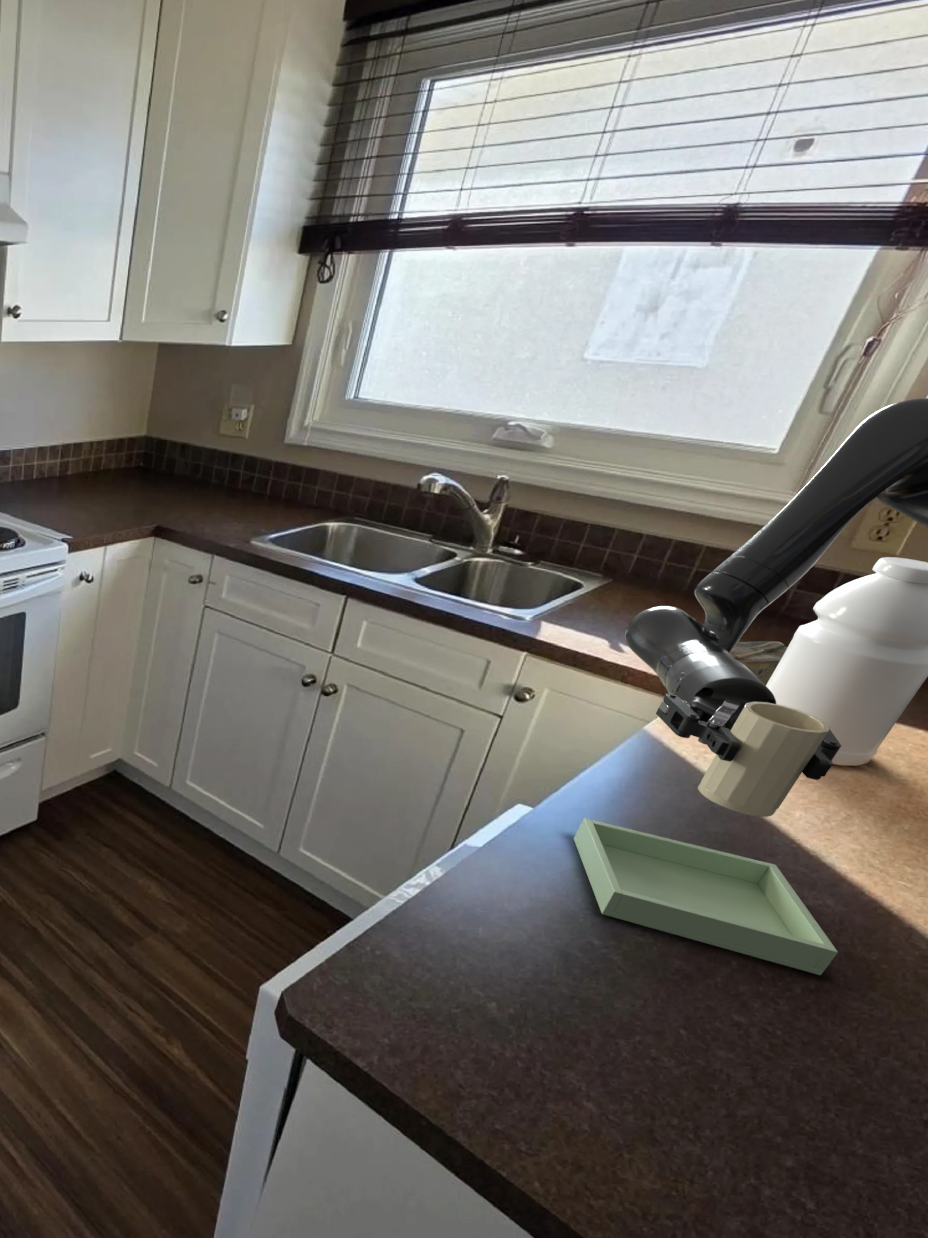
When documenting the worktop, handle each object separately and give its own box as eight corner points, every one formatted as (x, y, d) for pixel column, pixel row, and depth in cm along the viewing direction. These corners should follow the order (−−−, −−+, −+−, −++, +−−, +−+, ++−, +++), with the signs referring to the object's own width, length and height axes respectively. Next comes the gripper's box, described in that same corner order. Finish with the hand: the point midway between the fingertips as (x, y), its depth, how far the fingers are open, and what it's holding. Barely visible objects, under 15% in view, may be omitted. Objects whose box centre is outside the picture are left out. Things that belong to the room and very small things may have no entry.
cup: (761, 792, 85) (813, 711, 80) (785, 823, 80) (841, 738, 75) (689, 776, 87) (735, 696, 82) (708, 805, 82) (758, 722, 77)
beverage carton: (801, 690, 136) (823, 655, 133) (714, 697, 132) (733, 661, 129) (751, 669, 143) (769, 636, 140) (666, 676, 139) (683, 641, 136)
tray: (761, 886, 89) (775, 864, 88) (820, 975, 77) (838, 952, 76) (573, 838, 96) (583, 817, 94) (601, 914, 84) (614, 891, 83)
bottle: (730, 711, 128) (826, 542, 115) (847, 735, 122) (961, 560, 109) (757, 749, 117) (866, 567, 104) (887, 778, 111) (1019, 589, 98)
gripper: (780, 737, 91) (850, 814, 78) (626, 706, 97) (666, 773, 83) (816, 679, 88) (895, 749, 74) (654, 650, 93) (701, 711, 80)
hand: (774, 761), depth 79 cm, fingers closed on cup, 6 cm apart
